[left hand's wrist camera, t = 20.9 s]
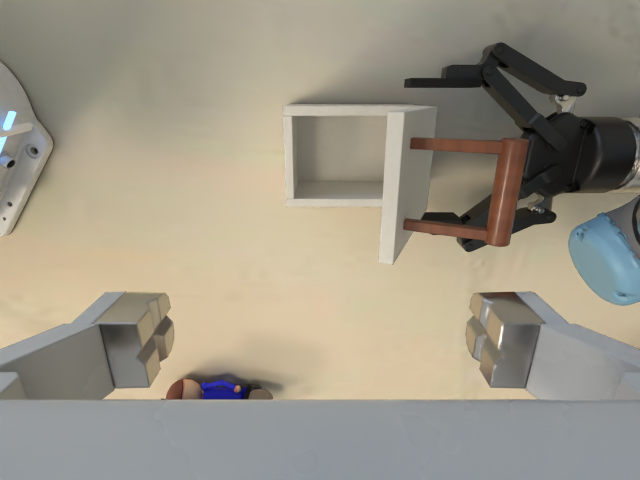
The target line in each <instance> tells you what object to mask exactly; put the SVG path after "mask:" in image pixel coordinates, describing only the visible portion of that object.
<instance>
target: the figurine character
mask: <svg viewBox="0 0 640 480" xmlns="http://www.w3.org/2000/svg"><path fill="white" fill-rule="evenodd" d="M220 385H222V386H225V387H227V388H218V387H217V386H220ZM201 388H202V390H203V391H204V393H203V394H202V390H201ZM241 389H242V392H241ZM251 389H256V390H252V391H251ZM161 400H273V396H272V394H271V393H270V392H268V391H266V390H263V389H261V387H260V386H253V385H242V386H239V385H234V384H231V383H229V382H226V381H224V380H219V381H216V382H212V383H206V382H203V383H202V384H201V387H200V386H199V384H198V383H197V382H196V381H194V380H192V379H181V380H179V381H177V382H175V383H174V384H173V385H172V386H171V387H170V389H169V390H168V393H167V396H166V399H161Z"/></svg>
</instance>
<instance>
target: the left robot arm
mask: <svg viewBox="0 0 640 480" xmlns="http://www.w3.org/2000/svg"><path fill="white" fill-rule="evenodd" d="M35 148H36V149H37V150H38V153H36V152H35ZM52 149H53V141H52V138H51V137H50V135H49V134H48V132H47V131H46V130H45V128H44V127H43V126H42V125H41V123H40V122H39V121H38V120H37V118H36V116H35V114H34V112H33V110H32V107H31V105H30V102H29V99H28V97H27V95H26V93H25V91H24V89H23V88H22V86H21V84H20V83H19V81H18V80H17V79H16V77H15V76H14V75H13V74H12V72H11V71H10V70H9V69H8V68H7V67H6V66H5V65H4V64H3V63H2V62H1V61H0V237H2V236H6V235H9V234H10V233H11V231H12V230H13V228H14V226H15V224H16V222H17V220H18V218H19V216H20V214H21V212H22V210H23V208H24V206H25V204H26V202H27V200H28V198H29V196H30V193H31V191H32V189H33V187H34V185H35V183H36V181H37V179H38V177H39V175H40V173H41V171H42V169H43V167H44V165H45V163H46V161H47V159H48V157H49V155H50V153H51V151H52ZM170 308H171V307H170V302H169V297H168V296H167V294H166V293H155V292H105V293H104V294H103V295H102V296H101V297H100V298H99V299H98V300H96V301H95V302H94V303H93V304H92V305H91V306H90V307H89V308H88V309H86V310H85V311H84V312H83V313H82V314H81V315H80V316H79V317H78V318H76V319H75V320H74V321H73V322H72V323H71V324H63V325H60V326H58V327H55V328H53V329H50V330H47V331H45V332H42V333H40V334H37V335H35V336H32V337H30V338H27V339H25V340H22V341H20V342H17V343H15V344H12V345H10V346H7V347H5V348H2V349H0V480H640V349H638V348H635V347H633V346H630V345H628V344H625V343H623V342H620V341H618V340H615V339H613V338H610V337H608V336H605V335H603V334H600V333H597V332H595V331H592V330H590V329H587V328H585V327H582V326H580V325H577V324H569V323H568V322H567V321H566V320H565V319H564V318H563V317H561V316H560V315H559V314H558V313H557V312H556V311H555V310H554V309H553V308H551V307H550V306H549V305H548V304H547V303H546V302H545V301H544V300H543V299H541V298H540V297H539V296H538V295H537V294H536V293H534V292H488V293H474V294H473V295H472V298H471V301H470V307H469V308H470V310H471V311H472V313H473V314H474V315H473V316H472V318H471V319H470V320H469V321H468V322H467V326H466V343H467V346H468V350H469V352H470V354H471V355H472V357H473V358H474V359H476V360H478V361H479V362H480V368H479V369H480V371H481V373H482V374H483V376H484V378H485V379H486V381H487V383H488V384H489V386H490V388H526V391H528V392H529V393H530V394H532V395H533V396H534V397H536V398H537V399H535V400H102V399H103V398H104V397H106V396H107V395H109V394H110V393H111V392H113V391H114V388H150V386H151V384H152V383H153V381H154V379H155V378H156V376H157V374H158V373H159V371H160V369H161V368H160V362H161V361H162V360H164V359H166V358H167V357H168V355H169V354H170V352H171V350H172V346H173V342H174V325H173V322H172V321H171V320H170V319H169V318H168V316H167V315H166V314H167V313H168V311H169V310H170Z"/></svg>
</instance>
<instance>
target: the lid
mask: <svg viewBox="0 0 640 480" xmlns="http://www.w3.org/2000/svg"><path fill="white" fill-rule="evenodd" d="M437 108H438V107H437V106H426V107H419V108H412V109H404V110H397V111H390V112H388V118H387V134H386V150H385V167H384V183H383V199H382V215H381V232H380V248H379V263H384V264H390V265H393V264H394V262H395V261H396V259H397V257H398V256H399V254H400V252H401V251H402V249H403V248H404V246H405V244H406V243H407V241H408V239H409V238H410V236H411V234H412V233H413V231H416V232H424V233H431V234H439V235H446V236H454V237H461V238H469V239H477V240H484V241H485V242H486V243H487V244H489V245H492V246H498V247H504V246H508V245H509V244H510V238H511V233H512V228H513V223H514V218H515V212H516V207H517V202H518V197H519V192H520V186H521V181H522V176H523V171H524V166H525V160H526V155H527V150H528V145H529V140H527V139H521V138H503V139H501V141H496V140H471V139H447V138H434V137H435V127H436V118H437ZM433 150H436V151H455V152H474V153H492V154H499V155H498V161H497V167H496V173H495V180H494V186H493V192H492V198H491V204H490V210H489V216H488V222H487V228H485V227H476V226H468V225H460V224H451V223H443V222H435V221H426V220H421V218H422V216H423V215H424V213H425V211H426V210H427V203H428V194H429V184H430V175H431V165H432V156H433Z"/></svg>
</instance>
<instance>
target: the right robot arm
mask: <svg viewBox="0 0 640 480" xmlns="http://www.w3.org/2000/svg"><path fill="white" fill-rule="evenodd" d="M497 66H498V67H499V68H501V69H503V70H504V71H506V72H508V73H509V74H511V75H513V76H514V77H516V78H518V79H519V80H521V81H523V82H524V83H526V84H528V85H529V86H531V87H533V88H534V89H536V90H538V91H540V92H542V93H544V94H548V95H550V97H549V100H550V101H551V103H553V104H555V105H556V106H557V112H555V113H553V114H551V115H550V116H548V117H546V118H545V117H544V116H543V115H541V114H539V113H538V112H536V111H535V109H534V108H533V107H532V106H531V105H530V104H529V103H528V102H527V101H526V100H525V99H524V98H523V96H522V95H521V94H520V93H519V92H518V91H517V90H516V89H515V88H514V87H513V86H512V85H511V83H510V82H509V81H508V80H507V79H506V78H505V77H504V76H503V75H502V74H501V73H500V72H499V71H498V69H497V68H496V67H497ZM481 86H482V87H483V88H484V89H485V90H486V91H487V92H488V93H489V94H490V95H491V96H492V97H493V98H494V99H495V100H496V101H497V103H498V104H499V105H500V106H501V107H502V108H503V109H504V110H505V111H506V112H507V113H508V114H509V115H510V116H511V117H512V118H513V119H514V121H515V124H516V125H517V126H518V127H519V128H520V129H521V130H522V131H523V132H524V133H523V134H522V136H521V137H520V138H521V139H527V140H529V145H528V150H527V155H526V160H525V166H524V171H523V176H522V181H521V186H520V192H519V197H518V200H520V199H523V198H526V197H528V196H529V195H531V194H532V193H534V192H535V193H536V194H538V195H539V197H538V199H537V200H536V201H534V202H531V203H528V204H527V207H525V208H521V209H518V210H516V212H515V218H514V223H513V228H512V233H511V234H513V233H516V232H518V231H520V230H523V229H525V228H527V227H530V226H532V225H536V224H545V223H552V222H554V221H555V219H556V214H555V213H554V212H552V211H551V210H552V201H553V197H554V196H556V195H558V194H561V193H605V192H609V193H640V117H622V118H618V117H577V116H575V115H574V114H572V111H573V108H574V105H575V102H576V99H577V97H579V96H582V95H583V94H584V93H585V92H586V89H587V87H586V85H585V84H584V83H580V82H572V81H565V80H563V79H561V78H560V77H558V76H557V75H555V74H553V73H552V72H550V71H548V70H547V69H545V68H544V67H542V66H540V65H539V64H537V63H535V62H534V61H532V60H531V59H529V58H527V57H526V56H524V55H522V54H521V53H519V52H517V51H516V50H514V49H513V48H511V47H509V46H508V45H506V44H504V43H497V44H494V45H490V46H487V47H486V48H485V49H484V50H483V56H482V58H481V60H480V62H479V63H478V64H477V65H450V66H447V67H444V68H442V76H441V78H409V79H405V83H404V88H474V87H481ZM523 183H524V184H523ZM491 198H492V194H491V195H489V196H488V197H487V198H485V199H484V200H482V201H481V202H480V203H478V204H477V205H476V206H474V207H473V208H471V209H470V210H469V211H467V212H466V213H465V214H463V215H462V216H460V217H458V216H457V215H456V214H455V213H453V212H425V213H424V215H423V216H422V218H421V220H426V221H435V222H443V223H451V224H460V225H468V226H476V227H485V228H487V222H488V216H489V210H490V204H491ZM430 234H431V233H430ZM432 235H439V234H432ZM457 242H458V243H459V244H460V245H461V246H462V247H463V249H464V250H465V251H467V252H471V251H474V250H476V249H478V248H481V247H483V246H485V245H488V244H487V243H486V242H485V241H484V240H477V239H469V238H461V237H457ZM568 245H569V252H570V255H571V258H572V261H573V263H574V265H575V267H576V269H577V271H578V272H579V274H580V275H581V277H582V278H583V280H584V281H585V283H586V284H587V285H588V286H589V287H590V288H591V289H592V290H593V291H594V292H595V293H596V294H597V295H598V296H599V297H601V298H602V299H604V300H606V301H608V302H610V303H612V304H615V305H621V306H624V305H630V304H634V303H637V302H640V195H639V196H637V197H636V198H635V199H633V200H632V201H631V202H629V203H627V204H625V205H623V206H621V207H619V208H617V209H615V210H612V211H610V212H607V213H604V212H603V213H601V214H598V215H597V217H596V218H594V219H591V220H589V221H587V222H585V223H583V224H581V225H579V226H577V227H576V228H575V229H573V230H572V232H571V234H570V236H569V243H568Z"/></svg>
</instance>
